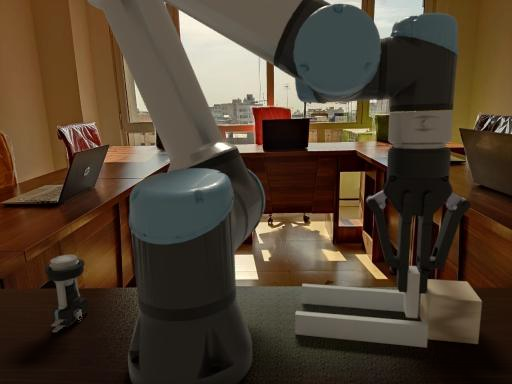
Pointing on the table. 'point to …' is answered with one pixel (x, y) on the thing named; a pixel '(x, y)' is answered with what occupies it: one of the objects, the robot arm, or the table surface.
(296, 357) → the table surface
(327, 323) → the channel
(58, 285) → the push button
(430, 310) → the maple block
